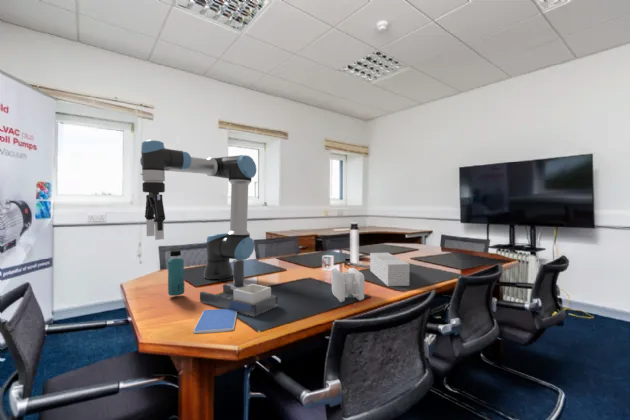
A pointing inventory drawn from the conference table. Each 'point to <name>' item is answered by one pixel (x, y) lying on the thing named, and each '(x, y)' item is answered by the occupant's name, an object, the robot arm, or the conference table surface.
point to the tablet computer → (216, 321)
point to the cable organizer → (347, 284)
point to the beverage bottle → (175, 274)
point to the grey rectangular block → (390, 269)
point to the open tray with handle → (247, 286)
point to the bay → (237, 302)
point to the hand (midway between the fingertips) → (154, 237)
